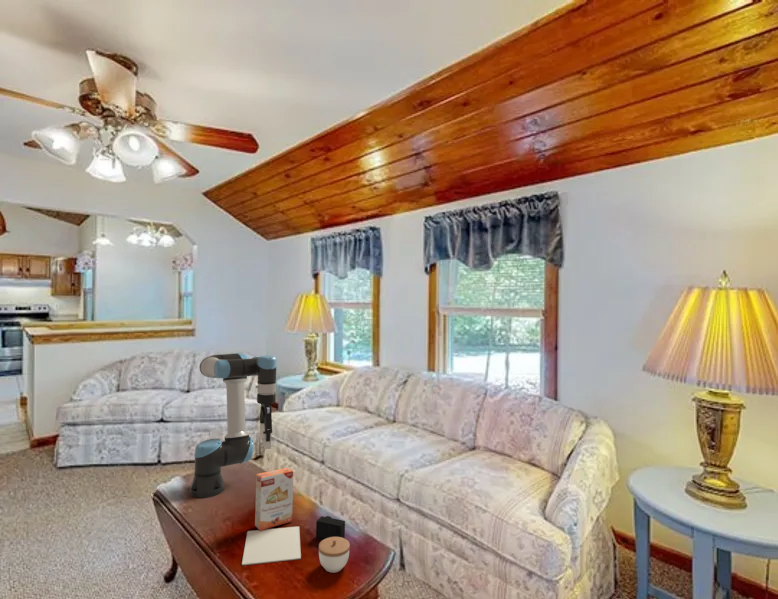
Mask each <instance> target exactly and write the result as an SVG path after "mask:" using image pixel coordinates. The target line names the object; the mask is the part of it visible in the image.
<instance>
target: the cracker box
mask: <svg viewBox="0 0 778 599" xmlns="http://www.w3.org/2000/svg"><path fill="white" fill-rule="evenodd" d="M255 479H256V481H255V510H254V511H255V516H254V526H255V527H256V529H257V530H260V531H261V530H266V529H272V528H274V527H278V526H281V525H285V524H288V523H291V522H292V521H293V500H294V499H293V498H294V497H293V496H294V495H293V494H294V493H293V492H294V471H293V470H292V469H290V468H289V467H284V468H280V469H275V470H269V471H265V472H259V473H256V478H255Z"/></svg>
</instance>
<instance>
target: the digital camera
mask: <svg viewBox="0 0 778 599" xmlns="http://www.w3.org/2000/svg"><path fill="white" fill-rule="evenodd" d="M315 531H316V532H315V539H316V540H320V541H322V540H324V539H326V538H329V537H342V538H345V534H346V532H345V531H346V521H345V520H343V519H338V518H333V517H331V516H329V515H326V516H320V517H319V518H318V519H317V520H316V526H315ZM345 539H346V538H345Z"/></svg>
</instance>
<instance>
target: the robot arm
mask: <svg viewBox="0 0 778 599" xmlns="http://www.w3.org/2000/svg"><path fill="white" fill-rule="evenodd" d="M277 366H278V364H277V357H276V356H274V355H261V356H254V357H251V358H249V356H248V355H247V354H246V353H238V352H237V353H226V354H225V353H224V354H212V355H209V356H206V357H205V358H203V359H202V360H201V362H200V364H199V371H200V373H201V374H202V375H203V377H206V378H210V379H222V382H223V383H224V384H225V385H226V414H227V415H226V420H227V423H226V424H227V434H226V435H224V441H222V440H221V439H220V438H209V439H206V440H202V441H201V442H199V443H198V444H196V446H195V449H194V455H193V456H194V475H193V479H192V482H191V484H190V487H189V495H190V496H191V497H193V498H203V499H204V498H209V497H211V498H212V497H214V496H216V495H217V496H218V495H219V494H221V493H223V492H224V490H225V482H224V480H223V476H222V473H221V471H222V467H226V466H228V467H229V466H233V465H237V464H243V463H247V462H249V461H251V459H252V457H253V455H254V451H255V450H254V449H255V448H254V447H255V445H254V439H253V437H252V436H250V433H249V432H248V431H247V427H246V425H247V424H246V401H245V397H246V396H245V395H246V394H245V382H246V381H247V380H248V377H255V376H256V377H257V385H256V386H255V388H257V395H256V403H257V404H259V405H260V413H259V419H258V420H259V440H263V450H270V449H272V433H273V419H272V414H273V413H272V410H273V409H272V407H271V404H275V403H276V392H277Z"/></svg>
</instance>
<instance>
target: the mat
mask: <svg viewBox="0 0 778 599" xmlns="http://www.w3.org/2000/svg"><path fill="white" fill-rule="evenodd" d="M300 533H301V532H300V526H288V527H278V528H268V529H264V530H261V531H260V530H259V529H257V530H248V531H247V532H246V538H245V544H244V549H243V556H242V561H241V566H251V565H258V564H260V565H261V564H267V563H275V562H286V561H294V560H301V559H302V558H301V557H302V553H301V535H300Z"/></svg>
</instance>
